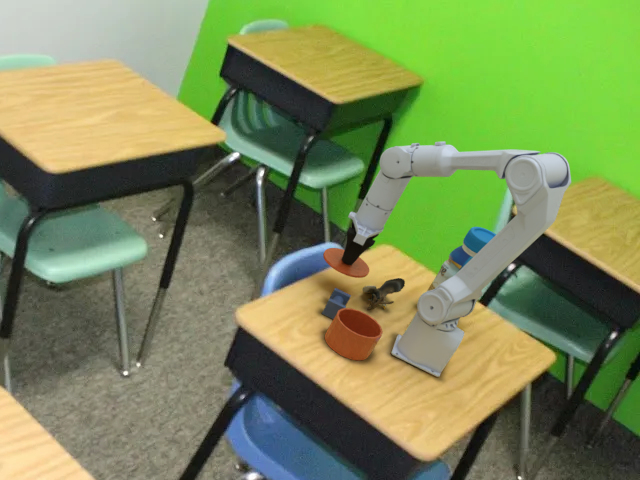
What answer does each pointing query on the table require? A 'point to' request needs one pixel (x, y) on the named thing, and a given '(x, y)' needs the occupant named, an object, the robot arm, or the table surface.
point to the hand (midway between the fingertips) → (348, 259)
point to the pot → (353, 334)
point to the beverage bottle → (462, 254)
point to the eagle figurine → (383, 292)
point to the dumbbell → (336, 303)
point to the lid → (335, 261)
